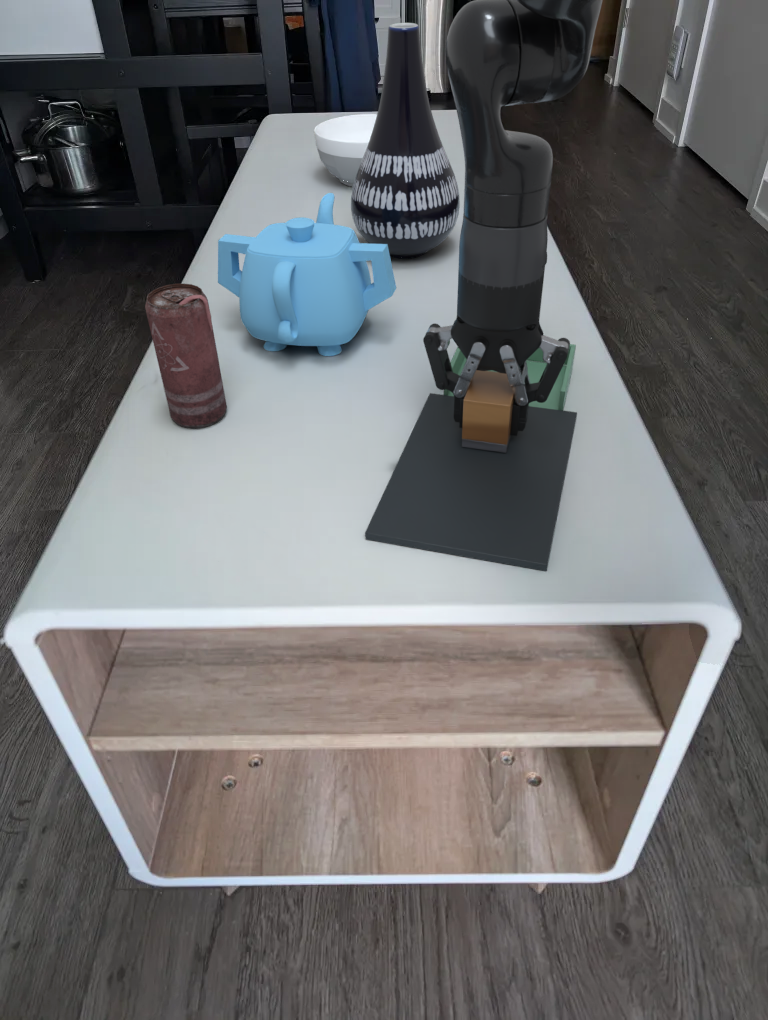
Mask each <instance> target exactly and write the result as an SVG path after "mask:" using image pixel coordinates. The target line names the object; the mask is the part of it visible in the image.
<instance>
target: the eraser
mask: <svg viewBox="0 0 768 1020" xmlns="http://www.w3.org/2000/svg"><path fill="white" fill-rule="evenodd" d="M514 399H515V397H514V394H513V390H512V387H511V386H510V385H509V381H508V377H507V374H504V373H499V372H492V371H479V370H476V372H475V374H474V376H473V379H472V381H471V383H470V385H469V388H468V390H467V393H466V395H465V398H464V402H463V425H462V447H466V448H474V449H481V450H488V451H495V452H502V453H506V452H507V449H508V445H509V442H510V438H511V435H510V430H511V419H512V408H513V403H514Z"/></svg>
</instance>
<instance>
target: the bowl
mask: <svg viewBox="0 0 768 1020" xmlns="http://www.w3.org/2000/svg"><path fill="white" fill-rule="evenodd" d="M376 117H377V113H361V114H360V113H359V114H351V115H349V114H348V115H343V116H339V117H333V118H330V119H327V120H324V121H322V122H320V123H318V124H316V126H315V127H314V128H313V129H314V130H313V133H314V134H313V135H314V136H313V137H314V140H315V142H314V143H315V146H316V149H317V152H318V156H319V159H320V161H321V162H322V165H324V167H325V168H326V169H327V171H328V172H329V173H330V174H331V175H333V176H334V177H336V178H337V179H339V182H340V183H342V184H343V185H345V186H348V187H352V188H353V184H354V180H355V177H356V174H357V172H358V169H359V166H360V164H361V161H362V159H363V156H364V153H365V151H366V148H367V145H368V143H369V140H370V137H371V134H372V131H373V128H374V124H375V121H376ZM343 180H344V181H343ZM347 181H348V182H347Z"/></svg>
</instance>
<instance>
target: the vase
mask: <svg viewBox="0 0 768 1020" xmlns="http://www.w3.org/2000/svg"><path fill="white" fill-rule="evenodd" d="M385 57H386V58H385V65H384V73H383V74H384V75H383V81H382V87H381V88H382V89H381V93H380V100H379V104H378V110H377V112H376V114H377V117H376V121H375V124H374V128H373V131H372V134H371V137H370V140H369V143H368V145H367V148H366V151H365V153H364V156H363V159H362V161H361V164H360V166H359V169H358V172H357V174H356V177H355V180H354V184H353V187H352V189H351V195H350V211H351V212H350V213H351V217H352V221H353V224H354V226H355V228H356V231H358V234H359V235H360V236H361V237H362V238H363V240H364V241H365V242H366V243H367V244H388V249H389V254H390V258H393V259H394V258H395V259H400V260H401V259H402V260H407V259H415V258H419V257H422V256H424V255H425V254H426V253H427V252H430V251H431V250H433V249H435V248H437V247H438V246H439V245H441V244H442V243H443V242H444V241H445V240H447V238H448V237H449V236H450V234H451V233H452V231H453V230H454V228H455V227H456V224H457V221H458V218H459V215H460V207H461V204H460V190H459V184H458V181H457V178H456V174H455V172H454V170H453V168H452V165H451V162H450V160H449V158H448V155H447V152H446V150H445V148H444V145H443V143H442V140H441V137H440V135H439V132H438V128H437V126H436V122H435V119H434V116H433V112H432V107H431V104H430V99H429V94H428V90H427V83H426V76H425V71H424V63H423V57H422V47H421V35H420V25H418V24H417V23H414V22H396V23H392V24H390V25H389V26H388V29H387V46H386V56H385Z"/></svg>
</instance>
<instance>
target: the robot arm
mask: <svg viewBox="0 0 768 1020" xmlns="http://www.w3.org/2000/svg"><path fill="white" fill-rule="evenodd" d="M603 1H604V0H472V1H471V0H470V1H469V2H467V3H466V4H464V5H463V6H462V7H461V8H460V9H459V10H458V12H457V13H456V15H455V16H454V18H453V19H452V22H451V24H450V27H449V29H448V32H447V36H446V41H445V50H444V51H445V66H446V70H447V76H448V81H449V85H450V89H451V90H450V91H451V93H452V94H451V95H452V97H453V102H454V106H455V110H456V114H457V120H458V124H459V130H460V136H461V143H462V149H463V150H462V151H463V157H464V190H463V191H464V193H463V214H462V215H463V216H462V222H461V228H460V235H459V244H458V245H459V246H458V269H457V271H458V272H457V301H456V317H455V320H454V322H453V324H452V325H445V326H441V325H439V324H438V323H431V324H430V325H429V327H428V328H427V330H426V332H425V334H424V337H423V339H422V341H423V344H424V349H425V352H426V356H427V359H428V363H429V366H430V370H431V373H432V377H433V380H434V384H435V387H436V389H438V390H440V391H444V390H445V389H447V390H449V391H451V392H452V393H453V395H454V420H455V422H459V428H462V425H463V402H464V398H465V395H466V393H467V390H468V388H469V385H470V383H471V381H472V379H473V376H474V374H475V372H476V370H479V371H490V370H493V371H496V372H499V373H504V374H507V377H508V381H509V385H510V386H511V387H512V390H513V394H514V397H515V399H514V403H513V408H512V419H511V430H510V435H514V436H517V434H518V431H523V430H524V428H525V426H526V422H527V417H528V407H529V403H531V402H533V401H537V402H539V403H543V402H545V401H546V400H547V398H548V396H549V394H550V392H551V390H552V388H553V386H554V384H555V382H556V380H557V378H558V375H559V373H560V371H561V369H562V367H563V365H564V363H565V361H566V359H567V355H568V351H569V346H570V344H571V342H570V340H569V339H568V338H566V337H560V338H559V339H555V338H553V337H549V336H547V335H544V331H543V329H542V327H541V324H540V323H541V322H540V317H541V307H542V298H543V288H544V281H545V280H544V279H545V269H546V265H547V262H548V251H547V250H548V240H549V239H548V237H549V236H548V233H549V232H548V213H549V204H550V195H551V186H552V176H553V166H554V163H553V162H554V154H553V149H552V146H551V144H550V143H549V142H548V140H545V139H544V138H543V137H540V136H539V135H536V134H532V133H528V132H522V131H514V130H508V129H505V128H504V126H503V123H502V119H501V109H502V107H508V106H517V105H526V104H527V105H528V104H536V103H537V104H538V103H548V102H553V101H556V100H558V99H561V98H563V97H564V96H566V95H568V94H569V93H570V92H571V91H573V90H574V89H575V88H576V87H577V86H578V85H579V83H580V82H581V81H582V79H583V78H584V76H585V75H586V72H587V70H588V68H589V65H590V60H591V57H592V56H591V55H592V50H593V45H594V39H595V34H596V29H597V24H598V21H599V17H600V13H601V9H602V5H603ZM451 340H453V342H454V343H455V345H456V346H457V347H459V349H460V350H461V352H462V353H463V355H464V356H465V358H466V359H467V360H466V363H465V365H464V367H463V370H462V372H461V374H460V375H458V374H456V373H453V370H452V367H451V359H450V355H449V352H448V348H449V346H450V344H451ZM538 348H540V349H541V350H542V351H543V360H544V362H543V363H545V362H546V363H547V365H546V367H545V369H544V371H543V374H542V376H541V378H540V380H539V382H537V383H532V384H531V383H530V380H529V376H528V367H527V362H526V361H528V360H527V359H528V358H529V357H530V356H531V355H532V354H533V353H534V352H535V351H536V350H537V349H538Z"/></svg>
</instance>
